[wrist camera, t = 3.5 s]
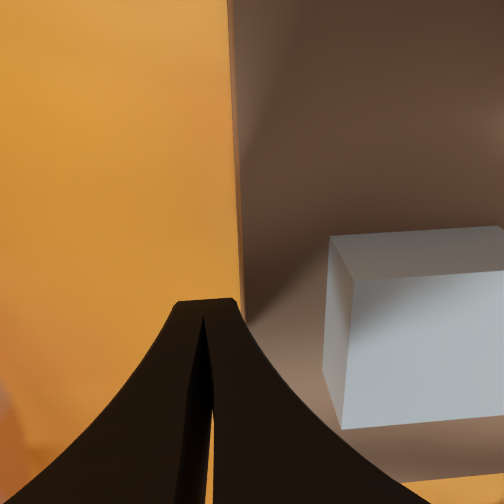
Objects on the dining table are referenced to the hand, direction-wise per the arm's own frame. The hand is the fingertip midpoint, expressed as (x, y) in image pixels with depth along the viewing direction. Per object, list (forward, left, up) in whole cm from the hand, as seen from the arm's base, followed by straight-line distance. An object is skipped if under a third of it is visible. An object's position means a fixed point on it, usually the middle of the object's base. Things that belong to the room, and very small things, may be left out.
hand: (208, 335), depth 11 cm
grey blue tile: (0, -5, -1) cm, 5 cm away
